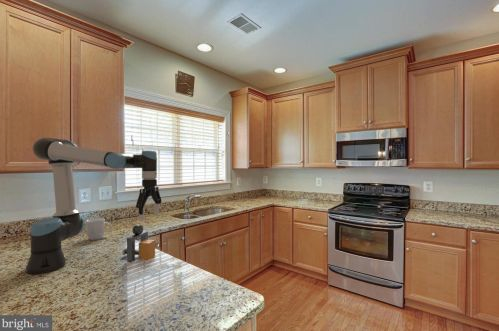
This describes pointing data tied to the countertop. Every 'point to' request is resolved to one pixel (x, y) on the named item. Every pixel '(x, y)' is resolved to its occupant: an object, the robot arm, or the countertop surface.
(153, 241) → the plug
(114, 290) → the countertop surface
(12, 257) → the countertop surface
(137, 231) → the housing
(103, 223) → the mug
